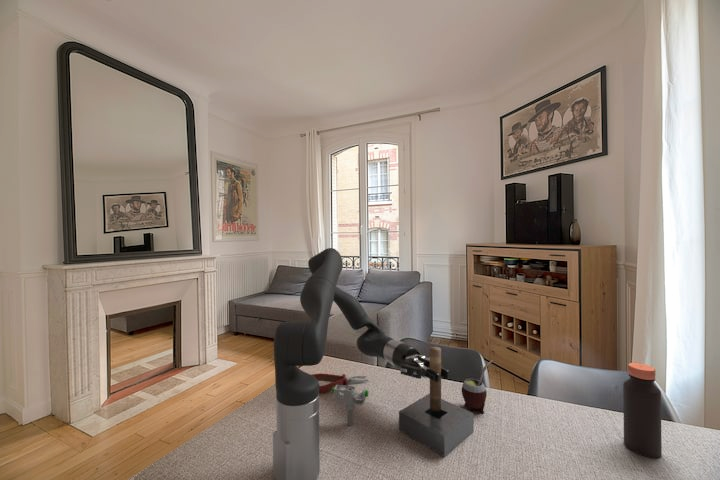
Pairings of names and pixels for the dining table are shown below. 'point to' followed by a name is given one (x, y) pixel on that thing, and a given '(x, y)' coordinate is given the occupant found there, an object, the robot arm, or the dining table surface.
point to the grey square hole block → (436, 424)
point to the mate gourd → (475, 393)
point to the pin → (434, 386)
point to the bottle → (642, 411)
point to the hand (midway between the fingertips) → (443, 376)
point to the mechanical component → (349, 399)
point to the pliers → (337, 381)
